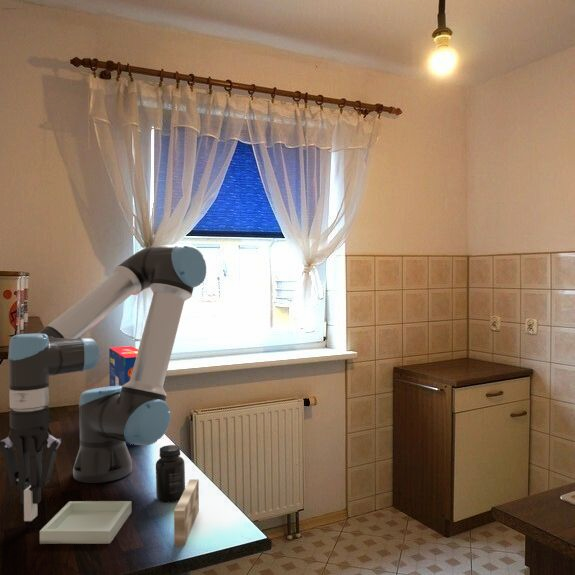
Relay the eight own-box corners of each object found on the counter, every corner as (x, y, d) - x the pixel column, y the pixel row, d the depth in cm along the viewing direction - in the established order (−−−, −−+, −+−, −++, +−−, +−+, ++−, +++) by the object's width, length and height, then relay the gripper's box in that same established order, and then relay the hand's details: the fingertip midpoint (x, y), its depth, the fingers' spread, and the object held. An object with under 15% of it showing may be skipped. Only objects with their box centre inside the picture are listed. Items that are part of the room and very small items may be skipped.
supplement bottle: (187, 491, 129) (186, 443, 129) (182, 503, 122) (182, 452, 122) (159, 491, 129) (158, 443, 129) (153, 503, 122) (152, 452, 122)
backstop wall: (190, 510, 119) (189, 479, 119) (198, 510, 119) (198, 479, 119) (174, 545, 103) (174, 510, 103) (184, 545, 103) (184, 510, 103)
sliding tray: (69, 512, 118) (69, 501, 118) (131, 512, 118) (131, 501, 118) (39, 543, 104) (39, 531, 104) (110, 543, 104) (110, 531, 104)
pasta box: (151, 442, 169) (150, 355, 169) (125, 445, 165) (125, 357, 165) (132, 421, 194) (131, 346, 193) (110, 424, 190) (109, 347, 189)
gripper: (-12, 411, 107) (-10, 526, 107) (52, 411, 107) (53, 526, 107) (8, 403, 114) (9, 510, 115) (67, 403, 114) (69, 510, 115)
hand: (30, 518), depth 111 cm, fingers closed
